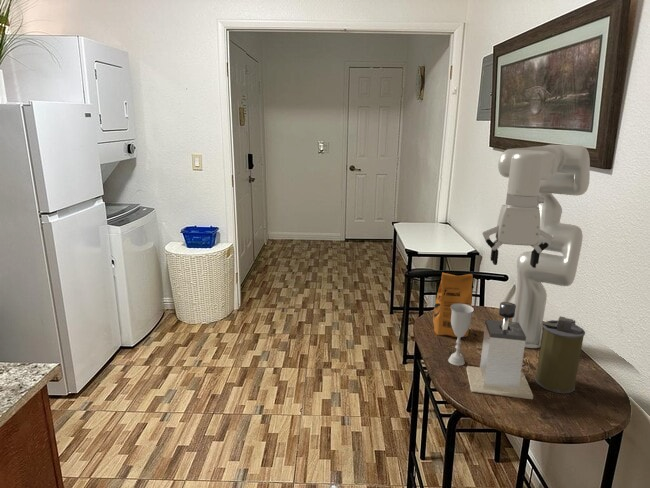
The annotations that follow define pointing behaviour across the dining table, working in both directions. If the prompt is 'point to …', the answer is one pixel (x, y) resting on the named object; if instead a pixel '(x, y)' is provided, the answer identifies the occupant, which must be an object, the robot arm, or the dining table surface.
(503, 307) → the plunger
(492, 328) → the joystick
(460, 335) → the chalice
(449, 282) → the coffee package
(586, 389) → the dining table surface
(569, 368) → the canister
